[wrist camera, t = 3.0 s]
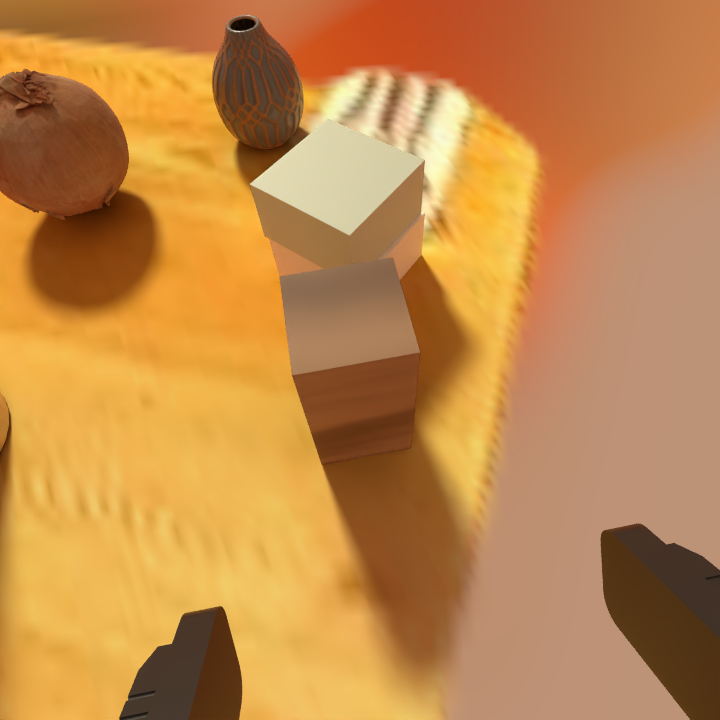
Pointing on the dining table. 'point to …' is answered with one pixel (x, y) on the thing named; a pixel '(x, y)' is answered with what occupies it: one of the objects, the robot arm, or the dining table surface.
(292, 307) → the column
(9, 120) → the onion
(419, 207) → the tower mid
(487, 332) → the dining table surface
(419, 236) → the tower base
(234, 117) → the vase
